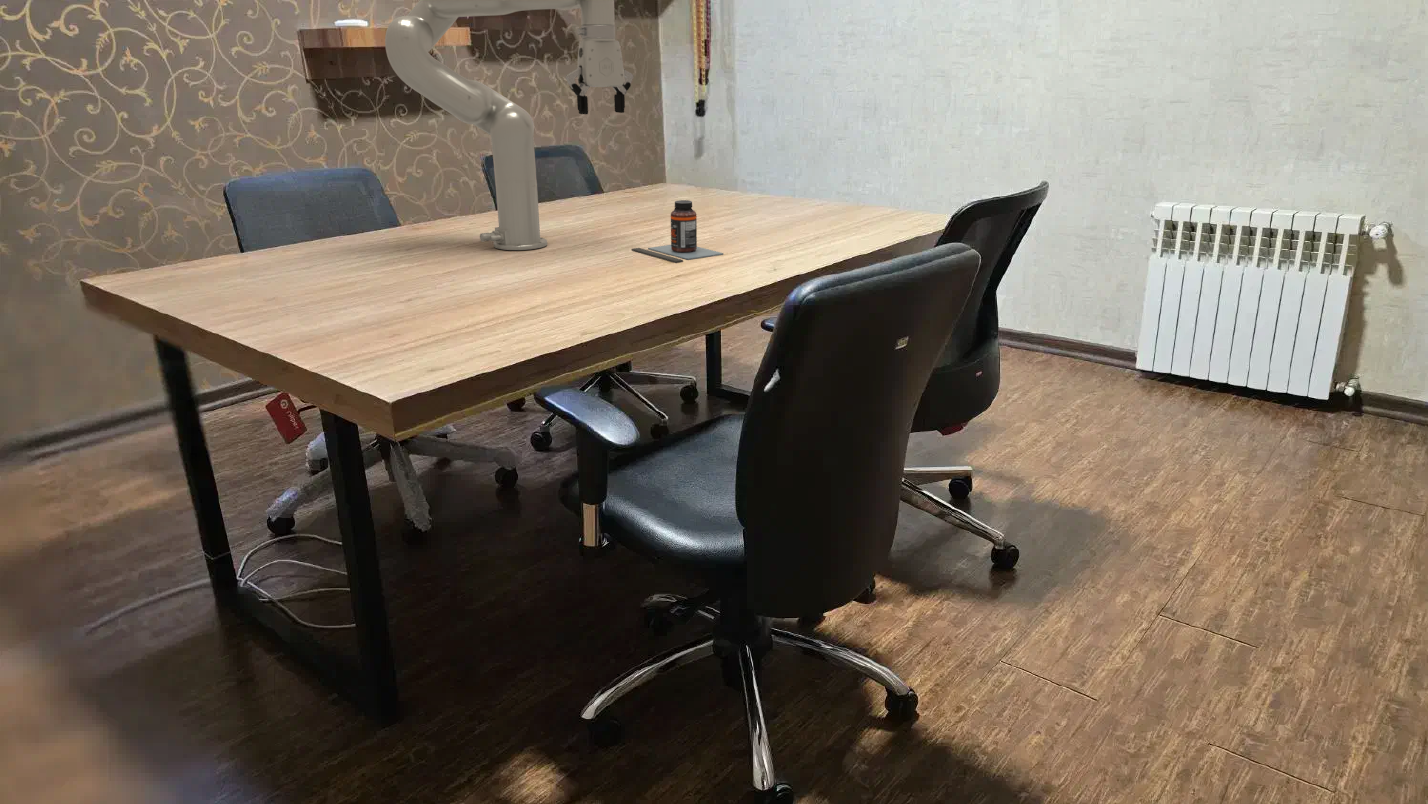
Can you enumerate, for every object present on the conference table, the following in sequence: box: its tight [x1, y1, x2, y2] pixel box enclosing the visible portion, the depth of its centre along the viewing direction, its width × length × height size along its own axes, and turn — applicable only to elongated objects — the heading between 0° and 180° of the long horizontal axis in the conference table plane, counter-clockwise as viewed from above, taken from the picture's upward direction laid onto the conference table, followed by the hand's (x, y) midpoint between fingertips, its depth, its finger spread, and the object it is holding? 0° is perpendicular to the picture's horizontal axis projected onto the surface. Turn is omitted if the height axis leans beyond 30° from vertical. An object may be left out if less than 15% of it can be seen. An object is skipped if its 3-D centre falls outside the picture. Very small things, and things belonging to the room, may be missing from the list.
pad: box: [647, 244, 724, 261], centre depth 224 cm, size 10×16×1 cm, turn 37°
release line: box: [631, 247, 684, 264], centre depth 220 cm, size 2×18×1 cm, turn 37°
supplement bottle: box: [670, 199, 698, 253], centre depth 222 cm, size 6×6×11 cm
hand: (601, 113), depth 224 cm, fingers open, 9 cm apart
